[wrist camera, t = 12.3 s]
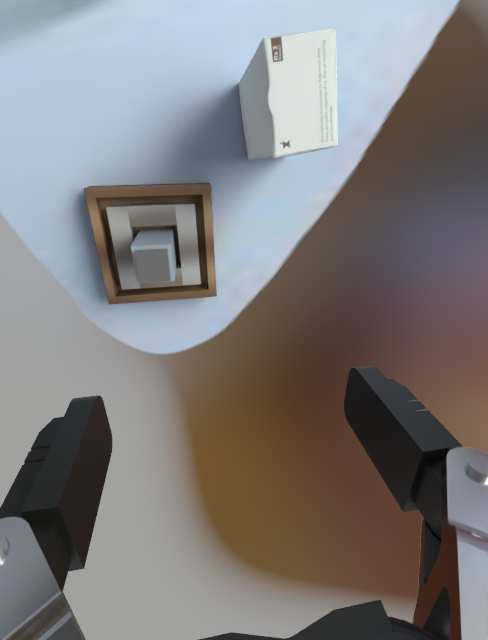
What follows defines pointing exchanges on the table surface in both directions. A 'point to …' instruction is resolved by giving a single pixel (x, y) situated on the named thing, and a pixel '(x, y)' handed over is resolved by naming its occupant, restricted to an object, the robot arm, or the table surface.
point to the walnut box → (154, 212)
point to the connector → (154, 255)
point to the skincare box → (291, 95)
